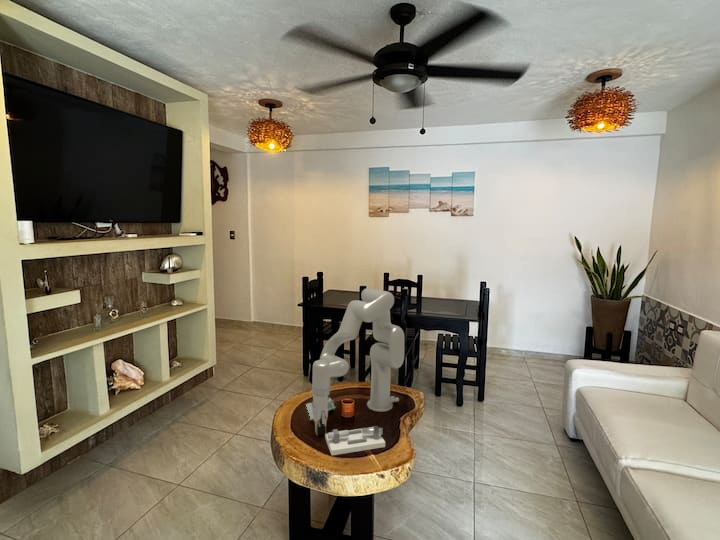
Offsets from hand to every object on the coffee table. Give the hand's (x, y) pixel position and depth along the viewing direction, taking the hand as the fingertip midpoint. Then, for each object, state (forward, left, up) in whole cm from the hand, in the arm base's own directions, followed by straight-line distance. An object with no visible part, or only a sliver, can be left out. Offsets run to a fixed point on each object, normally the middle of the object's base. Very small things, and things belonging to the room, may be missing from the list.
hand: (320, 430), depth 155 cm
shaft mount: (-12, +11, -1) cm, 16 cm away
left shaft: (-19, +12, +1) cm, 23 cm away
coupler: (0, 0, -1) cm, 1 cm away
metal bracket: (-4, -19, -2) cm, 19 cm away
